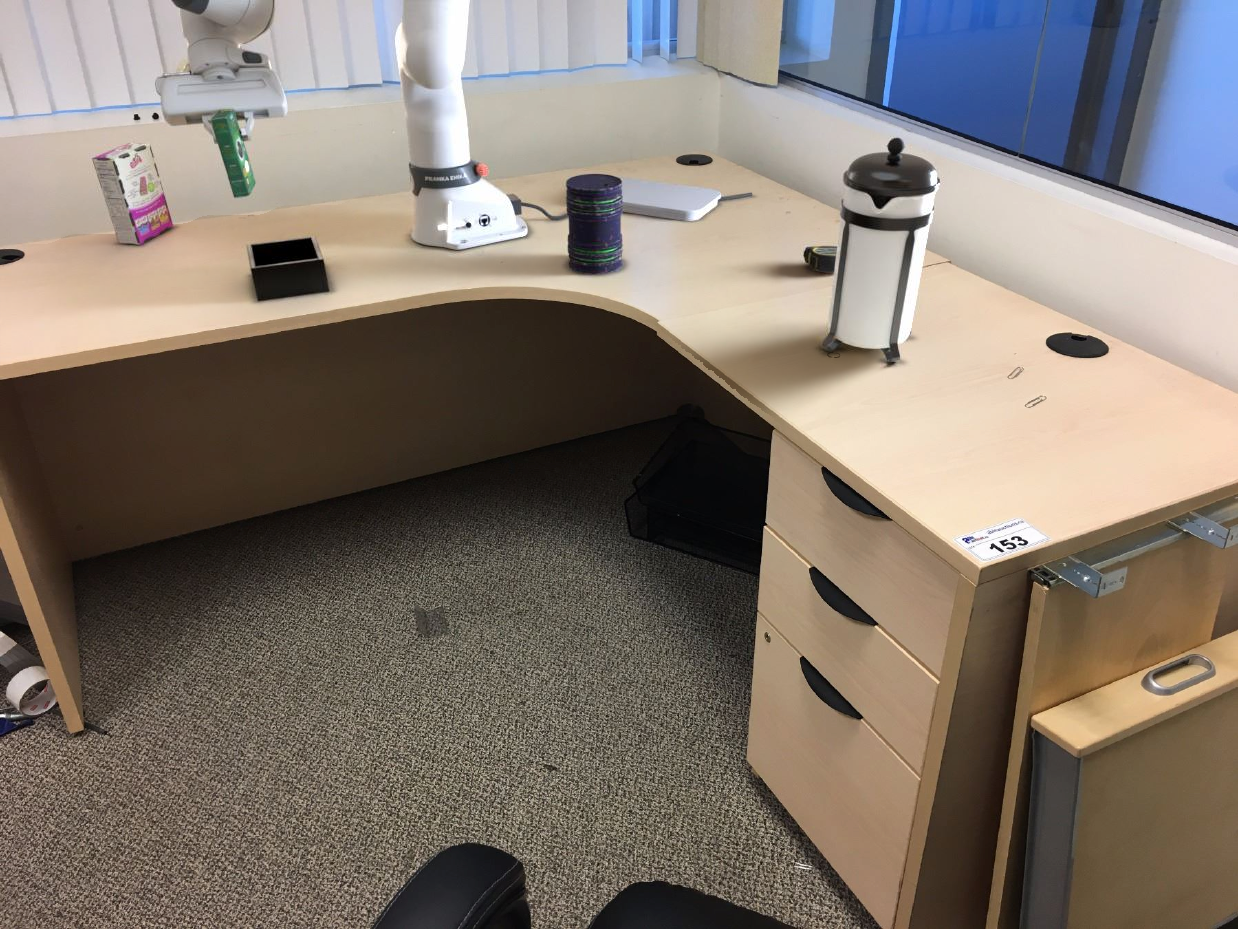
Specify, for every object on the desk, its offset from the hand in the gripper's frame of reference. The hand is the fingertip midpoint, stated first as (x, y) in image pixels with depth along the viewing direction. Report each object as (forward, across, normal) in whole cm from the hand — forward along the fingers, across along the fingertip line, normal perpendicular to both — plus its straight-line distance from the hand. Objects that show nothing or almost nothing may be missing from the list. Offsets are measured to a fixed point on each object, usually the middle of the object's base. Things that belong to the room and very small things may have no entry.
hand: (233, 140), depth 161 cm
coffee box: (+7, 0, +4) cm, 8 cm away
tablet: (+13, +80, +17) cm, 83 cm away
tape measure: (+45, +93, -15) cm, 105 cm away
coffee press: (+65, +83, -35) cm, 111 cm away
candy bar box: (-1, -20, +31) cm, 37 cm away
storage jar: (+33, +56, -3) cm, 65 cm away
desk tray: (+25, +4, +5) cm, 26 cm away
